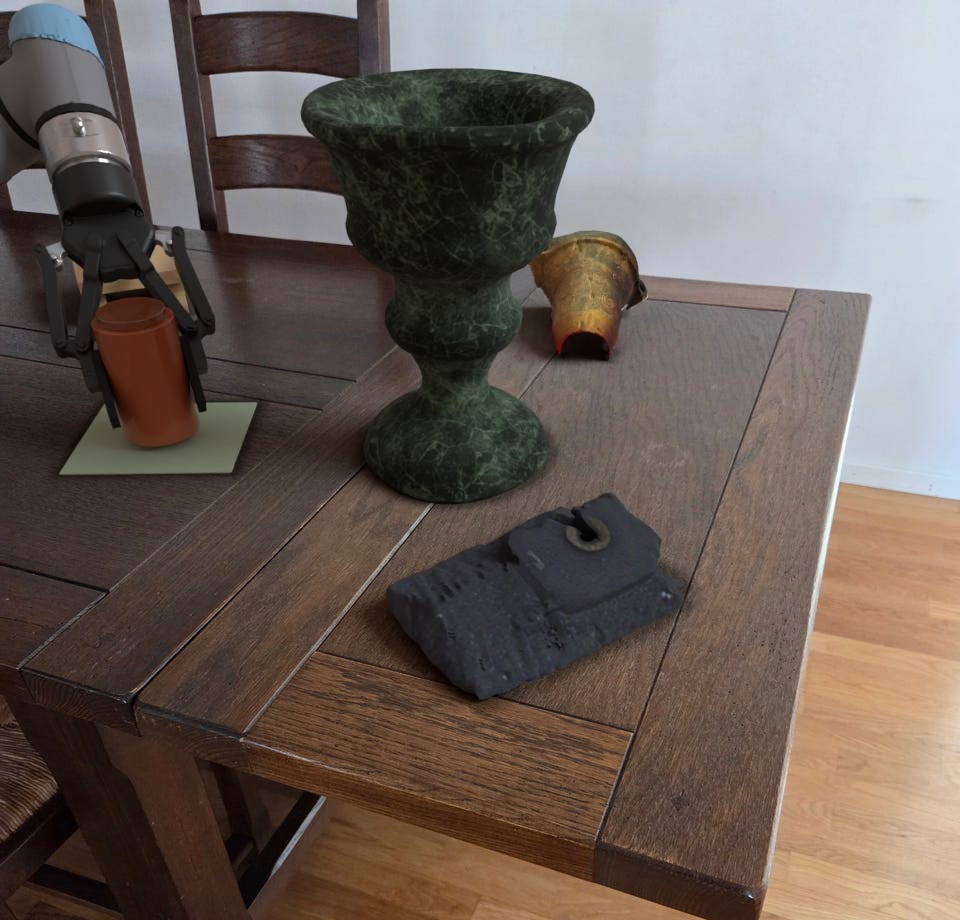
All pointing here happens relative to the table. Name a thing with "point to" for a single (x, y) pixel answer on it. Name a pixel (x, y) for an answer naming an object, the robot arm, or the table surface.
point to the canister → (146, 370)
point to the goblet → (451, 253)
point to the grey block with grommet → (537, 596)
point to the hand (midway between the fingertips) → (159, 414)
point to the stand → (162, 266)
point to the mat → (165, 446)
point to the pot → (588, 284)
